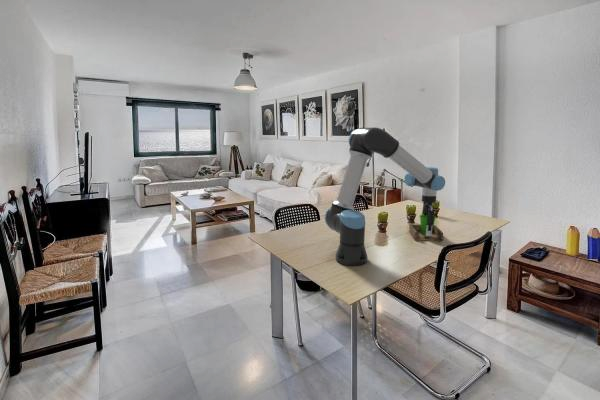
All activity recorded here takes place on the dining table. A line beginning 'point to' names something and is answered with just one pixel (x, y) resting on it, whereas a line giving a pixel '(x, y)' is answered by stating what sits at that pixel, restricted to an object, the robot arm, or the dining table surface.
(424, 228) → the cup
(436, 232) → the wooden tray
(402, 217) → the dining table surface
